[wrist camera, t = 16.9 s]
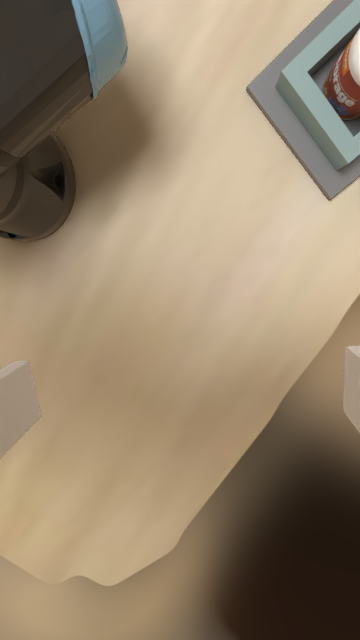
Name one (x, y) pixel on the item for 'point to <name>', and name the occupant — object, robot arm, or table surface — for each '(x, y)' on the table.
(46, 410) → the table surface
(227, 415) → the table surface
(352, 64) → the pill bottle
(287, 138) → the collar plate
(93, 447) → the table surface
